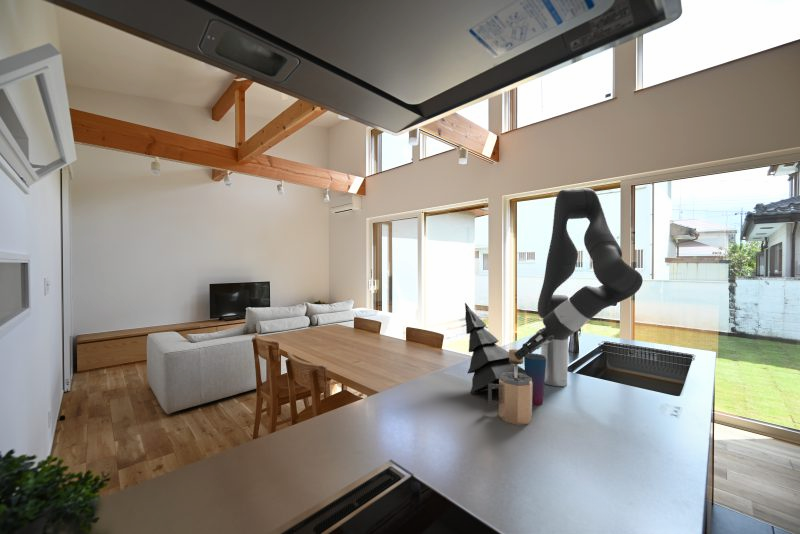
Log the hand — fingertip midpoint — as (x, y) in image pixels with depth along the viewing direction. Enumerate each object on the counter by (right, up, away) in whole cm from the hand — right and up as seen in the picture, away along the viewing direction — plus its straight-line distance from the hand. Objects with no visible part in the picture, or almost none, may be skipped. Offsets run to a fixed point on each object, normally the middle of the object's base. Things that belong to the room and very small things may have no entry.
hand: (522, 353), depth 97 cm
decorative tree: (-5, -19, +22) cm, 30 cm away
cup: (+9, -19, +13) cm, 24 cm away
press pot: (-3, -19, +1) cm, 19 cm away
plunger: (-2, -18, +1) cm, 18 cm away
